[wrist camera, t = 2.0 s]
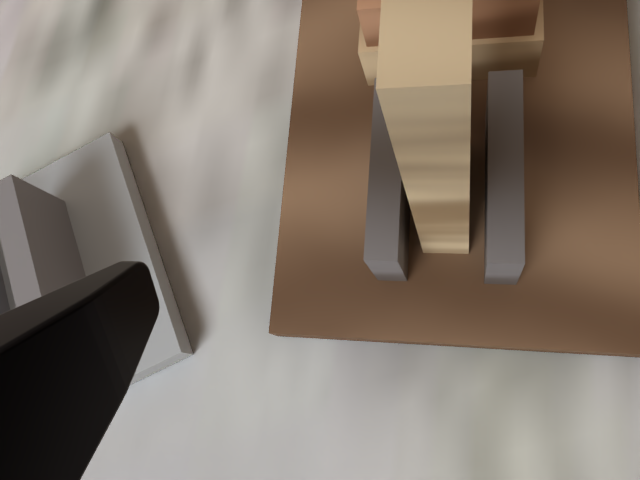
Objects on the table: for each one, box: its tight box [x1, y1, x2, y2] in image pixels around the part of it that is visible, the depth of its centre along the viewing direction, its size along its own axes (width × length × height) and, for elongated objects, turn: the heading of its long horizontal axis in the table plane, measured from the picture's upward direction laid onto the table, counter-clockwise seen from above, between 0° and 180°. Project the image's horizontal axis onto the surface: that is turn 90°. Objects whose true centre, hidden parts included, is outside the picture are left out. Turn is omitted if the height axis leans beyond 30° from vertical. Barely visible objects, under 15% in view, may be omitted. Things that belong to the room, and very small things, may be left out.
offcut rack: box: [269, 0, 640, 357], centre depth 20 cm, size 15×12×4 cm
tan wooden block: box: [376, 0, 473, 254], centre depth 15 cm, size 4×2×11 cm, turn 176°
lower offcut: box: [358, 0, 544, 86], centre depth 21 cm, size 4×6×2 cm, turn 86°
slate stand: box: [0, 132, 193, 385], centre depth 22 cm, size 10×10×4 cm
